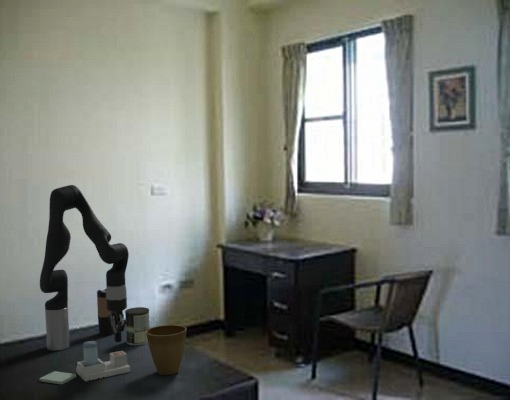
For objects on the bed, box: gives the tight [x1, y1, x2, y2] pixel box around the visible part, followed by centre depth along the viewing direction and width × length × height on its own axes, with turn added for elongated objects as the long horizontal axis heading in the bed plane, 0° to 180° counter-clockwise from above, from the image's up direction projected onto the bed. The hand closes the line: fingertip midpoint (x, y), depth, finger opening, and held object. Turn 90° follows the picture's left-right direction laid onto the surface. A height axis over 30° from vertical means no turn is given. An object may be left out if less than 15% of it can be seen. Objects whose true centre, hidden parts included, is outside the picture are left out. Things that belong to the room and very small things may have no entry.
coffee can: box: [124, 306, 150, 346], centre depth 269 cm, size 10×10×14 cm
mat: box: [38, 371, 77, 385], centre depth 226 cm, size 10×8×1 cm
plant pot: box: [146, 324, 187, 376], centre depth 230 cm, size 15×15×16 cm
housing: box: [75, 350, 131, 382], centre depth 231 cm, size 11×17×6 cm, turn 122°
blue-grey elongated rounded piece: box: [82, 340, 99, 367], centre depth 229 cm, size 5×5×10 cm
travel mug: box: [96, 288, 114, 337], centre depth 283 cm, size 8×8×20 cm
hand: (118, 341), depth 234 cm, fingers closed
